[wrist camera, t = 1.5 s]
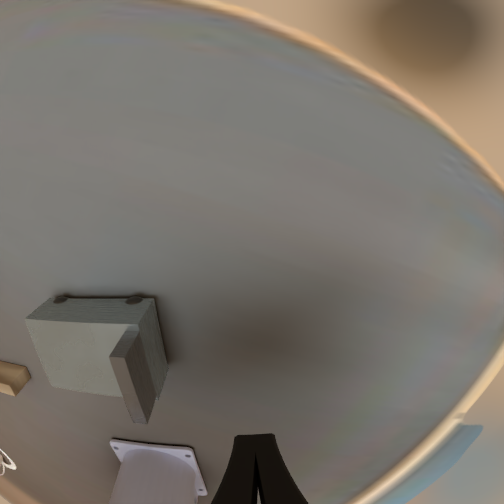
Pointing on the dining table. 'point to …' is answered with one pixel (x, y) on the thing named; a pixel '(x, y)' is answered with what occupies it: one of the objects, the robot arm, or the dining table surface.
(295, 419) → the dining table surface
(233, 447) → the robot arm
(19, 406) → the dining table surface
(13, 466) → the teacup and saucer
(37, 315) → the grey stepped block
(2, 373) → the dock bay
